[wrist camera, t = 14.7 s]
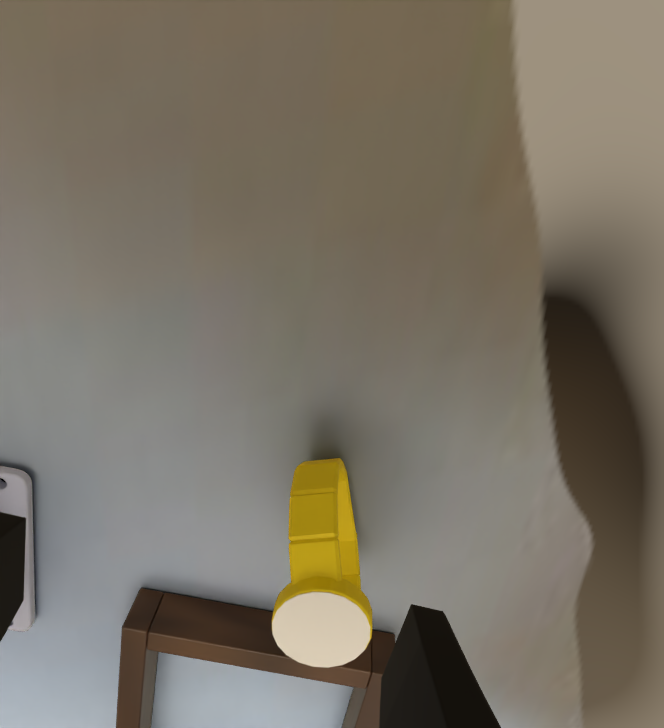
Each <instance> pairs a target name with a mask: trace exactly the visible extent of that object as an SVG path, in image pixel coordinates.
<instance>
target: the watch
mask: <svg viewBox="0 0 664 728" xmlns="http://www.w3.org/2000/svg"><path fill="white" fill-rule="evenodd" d="M290 496H291V498H290V505H289V540H290V541H291V542H290V543H289V557H290V571H291V583H289V584H288V585H287V586H286V587H285V588H284V589H283V590H282V591H281V592H280V594H279V595H278V598H277V600H276V603H275V606H274V611H273V616H272V634H273V637H274V639H275V641H276V643H277V645H278V647H279V648H280V649H281V650H282V651H283V652H284V653H285V654H286V655H287V656H289V657H291V658H292V659H294V660H296V661H297V662H299V663H302V664H306V665H309V666H312V667H327V668H329V667H334V666H340V665H344V664H346V663H348V662H350V661H352V660H354V659H356V658H357V657H358V656H359V655H360V654H361V653H362V652H363V651H364V650H365V649H366V648H367V646H368V644H369V642H370V640H371V637H372V609H371V606H370V603H369V600H368V598H367V597H366V596H365V594H364V593H363V592H362V591H361V582H360V576H359V575H360V567H359V554H358V542H357V533H356V530H355V523H354V516H353V510H352V503H351V496H350V490H349V483H348V476H347V471H346V468H345V466H344V463H343V461H342V460H341V459H340V458H335V459H325V460H314V461H304V462H303V463H301V464H300V465H298V466H297V468H296V470H295V472H294V477H293V482H292V487H291V492H290Z"/></svg>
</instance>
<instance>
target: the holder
mask: <svg viewBox="0 0 664 728" xmlns="http://www.w3.org/2000/svg"><path fill="white" fill-rule="evenodd" d="M272 616H273V612H270V611H264V610H259V609H253V608H248V607H242V606H237V605H232V604H226V603H221V602H215V601H210V600H204V599H199V598H194V597H188V596H183V595H177V594H172V593H163V592H160V591H155V590H149V589H144V588H141V589H140V590H139V592H138V594H137V596H136V599H135V601H134V603H133V605H132V607H131V609H130V611H129V613H128V615H127V618H126V620H125V622H124V624H123V626H122V637H121V653H120V669H119V686H118V702H117V719H116V728H151V719H152V709H153V699H154V689H155V679H156V668H157V658H158V652H163V653H168V654H174V655H179V656H185V657H190V658H196V659H201V660H207V661H212V662H218V663H223V664H229V665H234V666H240V667H246V668H251V669H257V670H262V671H268V672H273V673H279V674H284V675H290V676H295V677H301V678H306V679H312V680H317V681H323V682H329V683H334V684H340V685H345V686H351V687H354V689H353V692H352V695H351V699H350V702H349V705H348V708H347V712H346V715H345V718H344V721H343V725H342V728H379V718H380V695H381V678H382V675H383V673H384V670H385V668H386V665H387V663H388V660H389V658H390V655H391V653H392V651H393V648H394V646H395V635H394V634H391V633H385V632H380V631H374V630H372V637H371V640H370V642H369V644H368V646H367V648H366V649H365V650H364V651H363V652H362V653H361V654H360V655H359V656H358V657H357V658H356V659H354V660H352V661H350V662H348V663H346V664H344V665H340V666H334V667H329V668H327V667H312V666H309V665H306V664H302V663H299V662H297V661H296V660H294V659H292V658H291V657H289V656H287V655H286V654H285V653H284V652H283V651H282V650H281V649H280V648H279V647H278V645H277V643H276V641H275V639H274V637H273V634H272Z"/></svg>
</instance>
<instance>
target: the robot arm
mask: <svg viewBox="0 0 664 728" xmlns="http://www.w3.org/2000/svg"><path fill="white" fill-rule="evenodd" d="M0 478H2V479H4V480H5V481H6V483H5V482H3V481H1V480H0V641H1V640H2V638H3V636H4V635H5V633H6V631H7V629H8V630H14V631H20V632H24V631H28V630H29V629H30V628H31V627H32V625H33V624H34V622H35V587H34V545H33V504H32V481H31V478H30V477H29V475H28V474H27V473H25V472H24V471H22V470H19V469H15V468H9V467H4V466H0ZM379 728H501V727H500V725H499V723H498V721H497V719H496V717H495V715H494V714H493V712H492V710H491V708H490V706H489V704H488V702H487V700H486V698H485V696H484V694H483V692H482V690H481V688H480V686H479V684H478V682H477V680H476V678H475V676H474V674H473V672H472V670H471V668H470V666H469V664H468V662H467V660H466V658H465V656H464V654H463V652H462V650H461V647H460V645H459V643H458V641H457V639H456V637H455V635H454V633H453V630H452V628H451V626H450V624H449V622H448V620H447V618H446V616H445V614H444V613H443V611H439V610H434V609H430V608H426V607H421V606H417V605H412V604H411V606H410V609H409V611H408V614H407V616H406V619H405V621H404V624H403V626H402V628H401V631H400V633H399V636H398V638H397V641H396V643H395V646H394V648H393V651H392V653H391V655H390V658H389V660H388V663H387V665H386V668H385V670H384V673H383V675H382V678H381V695H380V718H379Z"/></svg>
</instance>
